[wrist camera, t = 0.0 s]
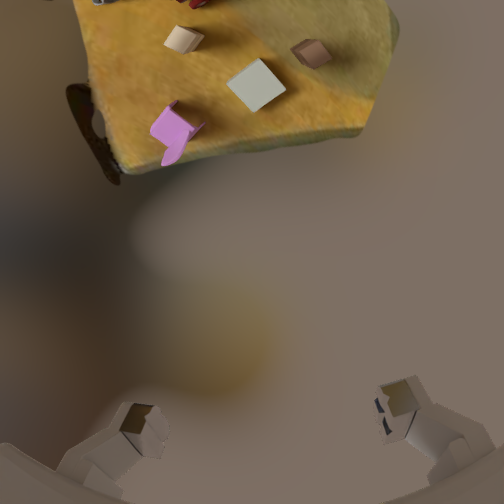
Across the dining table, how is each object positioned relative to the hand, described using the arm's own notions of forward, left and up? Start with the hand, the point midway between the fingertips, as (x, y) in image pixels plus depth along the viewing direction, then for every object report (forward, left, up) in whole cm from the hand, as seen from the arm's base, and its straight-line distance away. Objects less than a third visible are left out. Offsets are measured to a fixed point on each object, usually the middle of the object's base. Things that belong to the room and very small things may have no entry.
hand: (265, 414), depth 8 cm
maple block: (-15, -1, -54) cm, 56 cm away
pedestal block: (+1, +2, -55) cm, 55 cm away
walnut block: (+1, +14, -54) cm, 56 cm away
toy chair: (-3, -15, -55) cm, 57 cm away
